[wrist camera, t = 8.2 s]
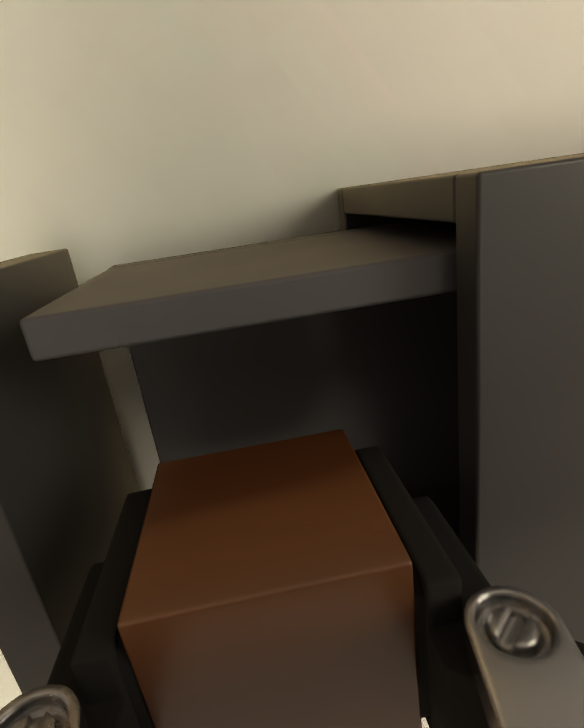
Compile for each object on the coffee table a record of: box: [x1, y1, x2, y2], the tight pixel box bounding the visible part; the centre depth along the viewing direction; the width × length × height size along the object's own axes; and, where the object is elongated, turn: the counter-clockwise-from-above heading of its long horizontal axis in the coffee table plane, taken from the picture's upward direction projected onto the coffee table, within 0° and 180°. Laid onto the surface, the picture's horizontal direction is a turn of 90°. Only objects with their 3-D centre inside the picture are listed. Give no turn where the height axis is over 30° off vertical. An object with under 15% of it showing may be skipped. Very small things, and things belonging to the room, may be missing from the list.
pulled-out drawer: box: [0, 220, 460, 694], centre depth 13 cm, size 19×12×8 cm, turn 98°
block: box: [117, 429, 422, 728], centre depth 9 cm, size 4×4×4 cm
